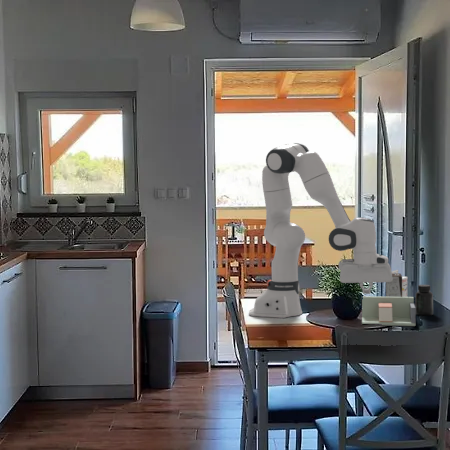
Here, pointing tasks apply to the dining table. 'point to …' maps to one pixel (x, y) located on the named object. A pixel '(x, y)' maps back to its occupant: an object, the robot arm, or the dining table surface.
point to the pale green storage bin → (400, 310)
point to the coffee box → (394, 286)
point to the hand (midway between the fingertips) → (366, 293)
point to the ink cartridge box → (403, 284)
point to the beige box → (385, 312)
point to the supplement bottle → (424, 301)
